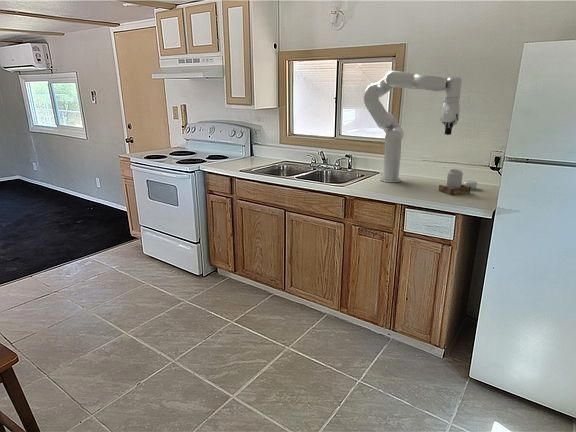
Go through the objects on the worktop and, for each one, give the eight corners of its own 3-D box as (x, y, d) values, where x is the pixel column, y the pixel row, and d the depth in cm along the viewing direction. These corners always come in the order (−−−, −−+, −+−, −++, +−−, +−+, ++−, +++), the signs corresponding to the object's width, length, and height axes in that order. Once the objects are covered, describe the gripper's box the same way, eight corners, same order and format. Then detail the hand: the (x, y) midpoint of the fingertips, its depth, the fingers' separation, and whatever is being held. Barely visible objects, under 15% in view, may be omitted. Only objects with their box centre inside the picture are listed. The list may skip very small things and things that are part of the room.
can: (448, 189, 220) (450, 168, 217) (462, 191, 216) (465, 169, 212) (443, 191, 215) (446, 170, 211) (457, 193, 210) (460, 171, 207)
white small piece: (460, 188, 221) (461, 181, 220) (465, 186, 226) (466, 179, 225) (473, 191, 216) (474, 184, 215) (477, 189, 221) (479, 182, 220)
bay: (438, 190, 217) (439, 184, 216) (456, 188, 221) (457, 182, 220) (451, 195, 208) (452, 189, 207) (469, 193, 212) (470, 186, 211)
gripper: (437, 100, 222) (433, 133, 228) (456, 101, 209) (451, 136, 214) (447, 100, 224) (443, 132, 230) (467, 101, 211) (462, 135, 217)
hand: (447, 134), depth 222 cm, fingers closed
